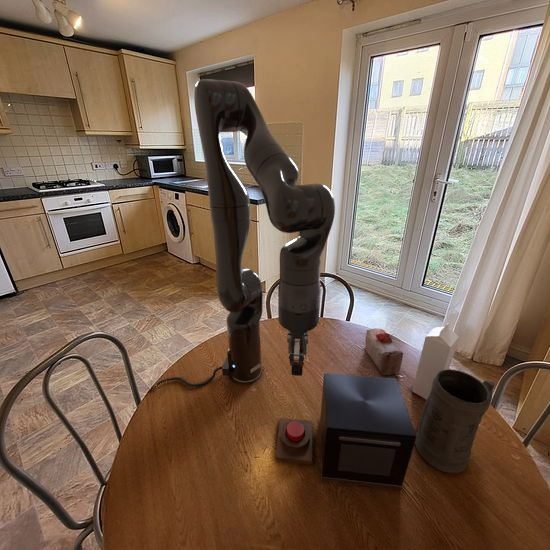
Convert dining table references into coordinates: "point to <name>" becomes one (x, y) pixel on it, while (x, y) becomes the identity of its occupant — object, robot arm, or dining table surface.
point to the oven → (364, 431)
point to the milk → (434, 358)
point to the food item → (383, 351)
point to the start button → (295, 431)
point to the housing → (294, 444)
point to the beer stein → (452, 419)
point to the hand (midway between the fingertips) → (296, 373)
